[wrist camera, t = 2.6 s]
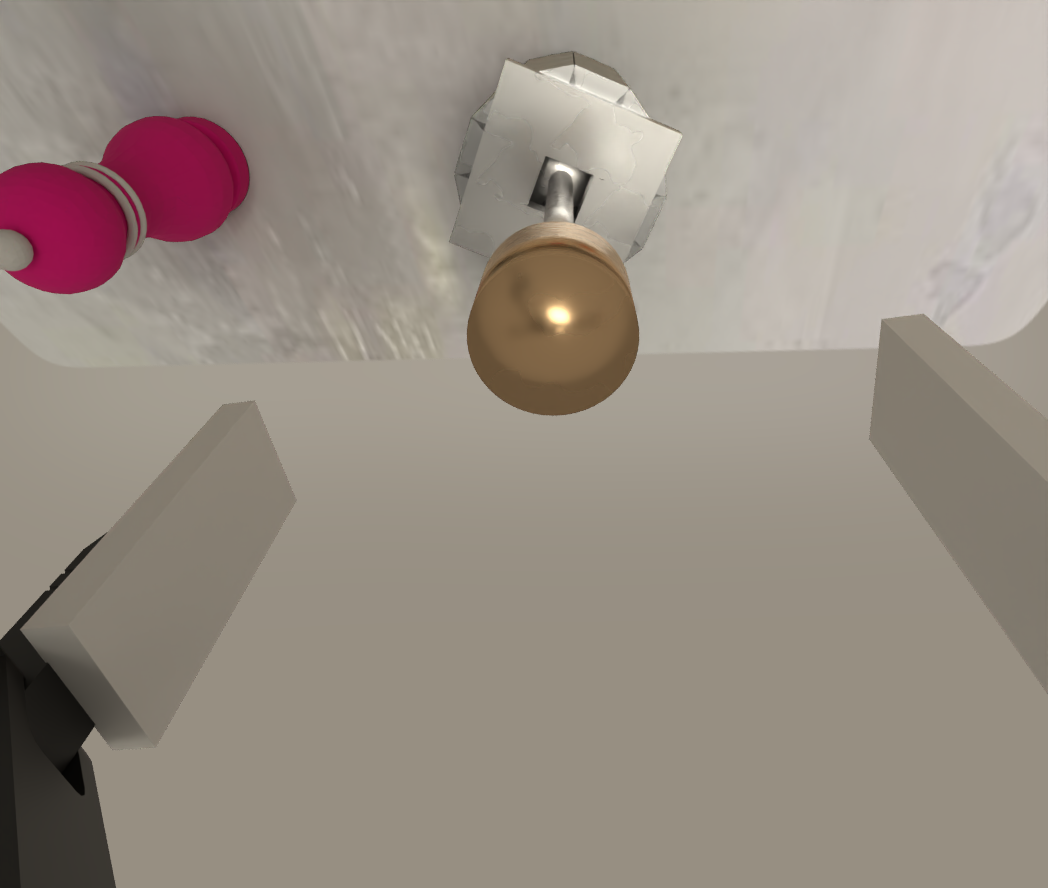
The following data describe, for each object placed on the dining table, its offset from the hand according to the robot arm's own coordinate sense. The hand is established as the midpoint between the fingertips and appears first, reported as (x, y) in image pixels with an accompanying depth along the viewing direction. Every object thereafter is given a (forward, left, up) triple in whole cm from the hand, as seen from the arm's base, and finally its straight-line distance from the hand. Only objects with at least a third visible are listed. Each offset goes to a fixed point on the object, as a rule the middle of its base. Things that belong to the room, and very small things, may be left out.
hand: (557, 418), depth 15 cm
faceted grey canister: (0, -1, -35) cm, 35 cm away
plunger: (0, 0, -24) cm, 24 cm away
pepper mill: (-22, -10, -35) cm, 43 cm away
